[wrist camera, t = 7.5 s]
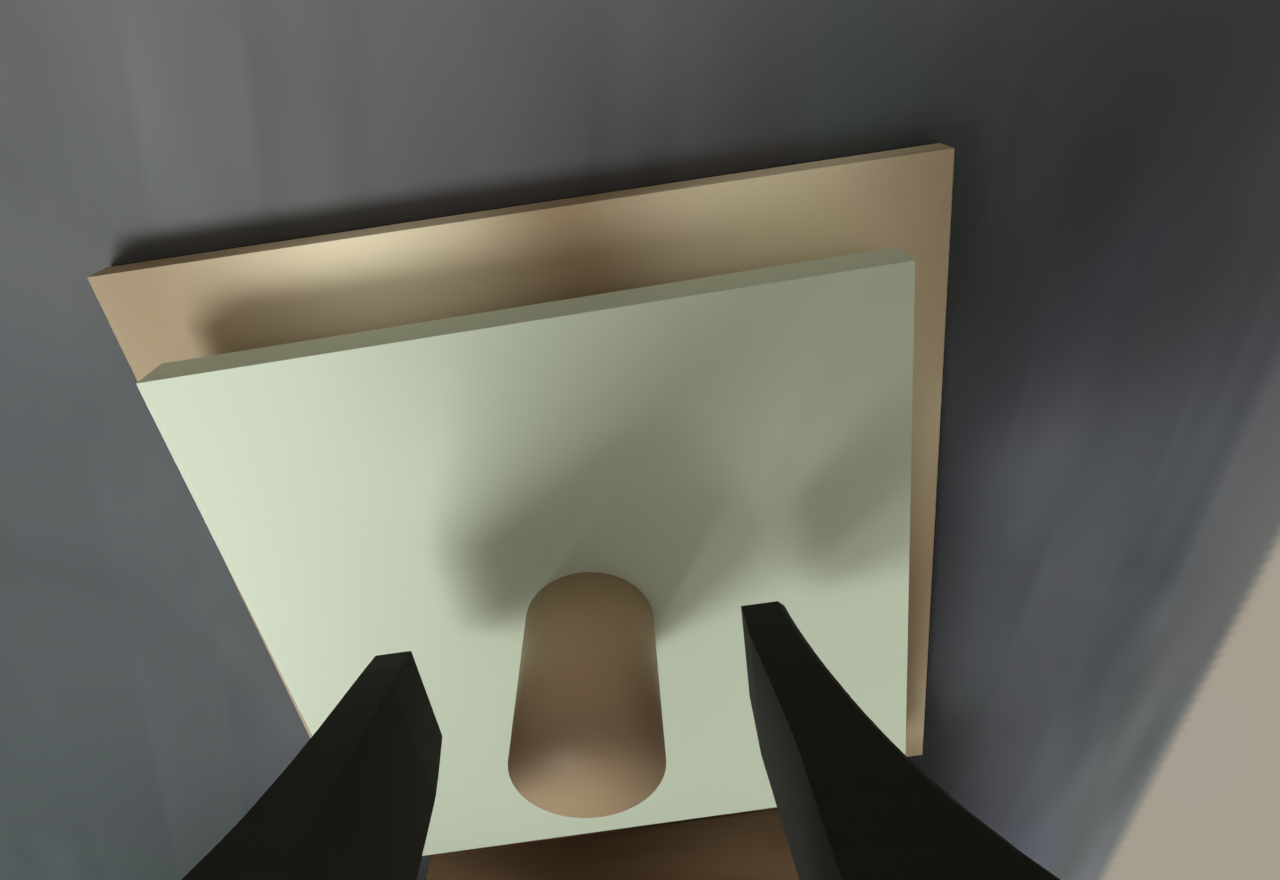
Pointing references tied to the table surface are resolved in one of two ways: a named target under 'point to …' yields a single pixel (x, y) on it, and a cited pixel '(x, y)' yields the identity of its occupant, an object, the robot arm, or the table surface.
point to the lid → (575, 526)
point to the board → (576, 284)
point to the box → (638, 853)
